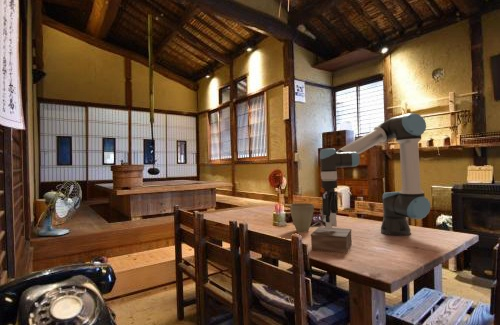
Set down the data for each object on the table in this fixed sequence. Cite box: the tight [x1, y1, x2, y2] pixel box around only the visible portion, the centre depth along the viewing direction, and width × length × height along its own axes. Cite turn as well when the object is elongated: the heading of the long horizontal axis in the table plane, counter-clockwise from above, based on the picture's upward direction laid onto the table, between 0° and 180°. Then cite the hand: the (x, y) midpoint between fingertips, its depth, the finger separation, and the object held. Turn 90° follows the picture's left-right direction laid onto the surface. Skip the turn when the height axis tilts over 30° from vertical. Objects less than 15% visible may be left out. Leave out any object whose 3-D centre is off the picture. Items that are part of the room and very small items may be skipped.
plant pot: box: [289, 202, 315, 233], centre depth 181 cm, size 15×15×16 cm
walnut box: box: [310, 226, 353, 254], centre depth 144 cm, size 16×16×8 cm
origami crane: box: [311, 205, 326, 227], centre depth 147 cm, size 11×10×10 cm
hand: (331, 227), depth 144 cm, fingers closed on origami crane, 5 cm apart
